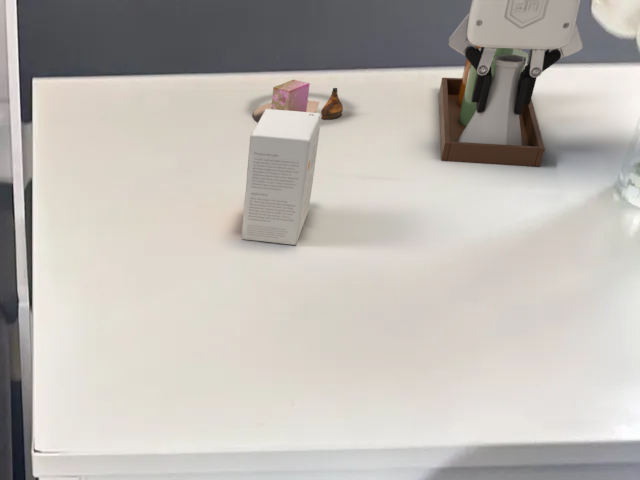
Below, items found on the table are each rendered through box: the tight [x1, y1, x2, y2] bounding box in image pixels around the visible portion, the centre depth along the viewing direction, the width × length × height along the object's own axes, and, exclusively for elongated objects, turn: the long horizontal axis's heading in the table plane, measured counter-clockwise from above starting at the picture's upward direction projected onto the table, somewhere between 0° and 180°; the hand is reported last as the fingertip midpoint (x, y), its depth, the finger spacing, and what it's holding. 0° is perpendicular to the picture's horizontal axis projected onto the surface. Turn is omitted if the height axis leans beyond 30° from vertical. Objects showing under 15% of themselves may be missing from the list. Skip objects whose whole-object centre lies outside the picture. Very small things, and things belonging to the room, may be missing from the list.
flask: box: [458, 54, 526, 146], centre depth 106 cm, size 7×7×10 cm
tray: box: [438, 77, 546, 168], centre depth 114 cm, size 10×25×3 cm, turn 162°
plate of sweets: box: [251, 79, 344, 123], centre depth 121 cm, size 12×12×4 cm
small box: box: [241, 109, 322, 246], centre depth 93 cm, size 8×6×10 cm
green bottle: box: [458, 48, 529, 127], centre depth 113 cm, size 6×6×11 cm
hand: (498, 108), depth 106 cm, fingers closed on flask, 3 cm apart
